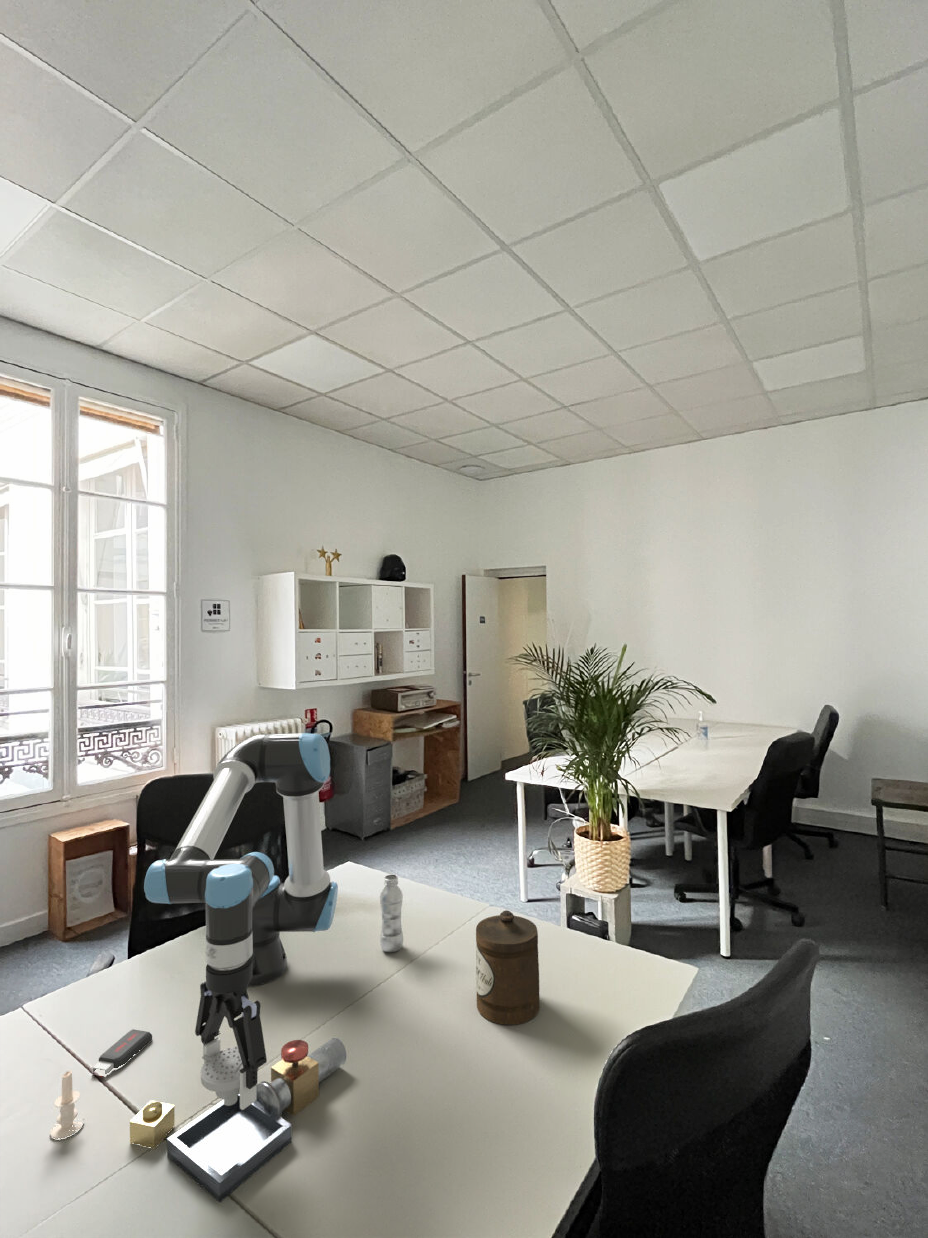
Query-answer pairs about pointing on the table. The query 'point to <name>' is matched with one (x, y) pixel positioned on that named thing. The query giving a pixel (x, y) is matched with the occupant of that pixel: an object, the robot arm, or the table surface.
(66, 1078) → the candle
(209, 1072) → the showerhead
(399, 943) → the plastic bottle
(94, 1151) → the table surface
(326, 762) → the robot arm
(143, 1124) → the brass block
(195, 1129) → the metal assembly
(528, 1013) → the wooden container
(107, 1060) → the usb drive
